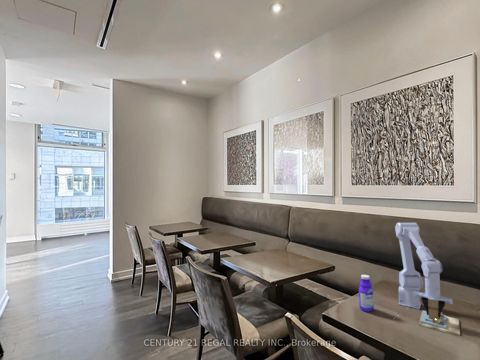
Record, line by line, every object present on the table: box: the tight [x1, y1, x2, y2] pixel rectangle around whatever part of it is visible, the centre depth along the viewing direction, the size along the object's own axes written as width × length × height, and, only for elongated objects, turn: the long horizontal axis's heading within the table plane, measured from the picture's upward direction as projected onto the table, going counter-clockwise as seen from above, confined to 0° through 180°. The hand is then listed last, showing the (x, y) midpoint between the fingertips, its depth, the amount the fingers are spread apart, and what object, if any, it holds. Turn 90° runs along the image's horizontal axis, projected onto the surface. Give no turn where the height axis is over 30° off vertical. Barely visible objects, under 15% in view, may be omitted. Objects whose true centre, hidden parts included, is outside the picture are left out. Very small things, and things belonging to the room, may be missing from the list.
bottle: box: [358, 274, 375, 312], centre depth 138 cm, size 7×6×17 cm
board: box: [418, 310, 461, 336], centre depth 123 cm, size 14×16×1 cm
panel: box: [420, 305, 447, 329], centre depth 125 cm, size 9×13×5 cm
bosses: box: [434, 311, 443, 325], centre depth 124 cm, size 3×11×3 cm, turn 142°
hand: (433, 315), depth 125 cm, fingers closed on panel, 4 cm apart
